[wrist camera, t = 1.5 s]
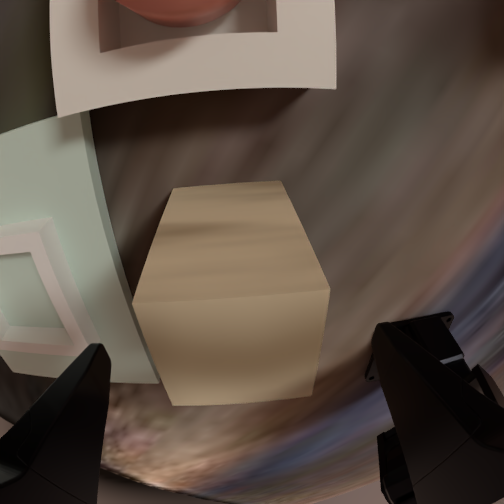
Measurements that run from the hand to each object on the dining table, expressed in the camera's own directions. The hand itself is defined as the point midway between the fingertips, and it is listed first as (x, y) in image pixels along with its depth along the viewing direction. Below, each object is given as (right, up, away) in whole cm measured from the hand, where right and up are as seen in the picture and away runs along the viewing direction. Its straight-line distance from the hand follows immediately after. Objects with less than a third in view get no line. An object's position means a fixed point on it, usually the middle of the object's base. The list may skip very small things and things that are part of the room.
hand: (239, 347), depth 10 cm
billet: (-1, +4, +6) cm, 7 cm away
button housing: (-2, +14, 0) cm, 14 cm away
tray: (-14, +1, +7) cm, 15 cm away
